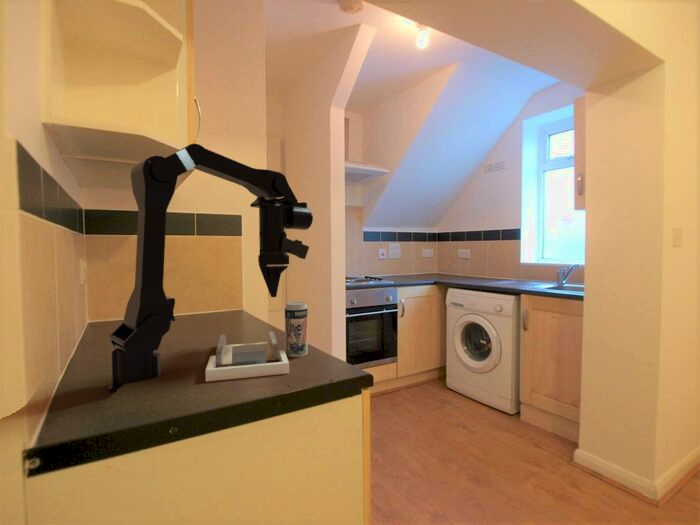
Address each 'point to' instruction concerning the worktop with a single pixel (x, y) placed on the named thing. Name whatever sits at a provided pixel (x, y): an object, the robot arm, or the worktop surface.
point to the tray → (246, 369)
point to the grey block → (249, 355)
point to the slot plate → (226, 350)
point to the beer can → (296, 329)
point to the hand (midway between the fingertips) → (272, 294)
